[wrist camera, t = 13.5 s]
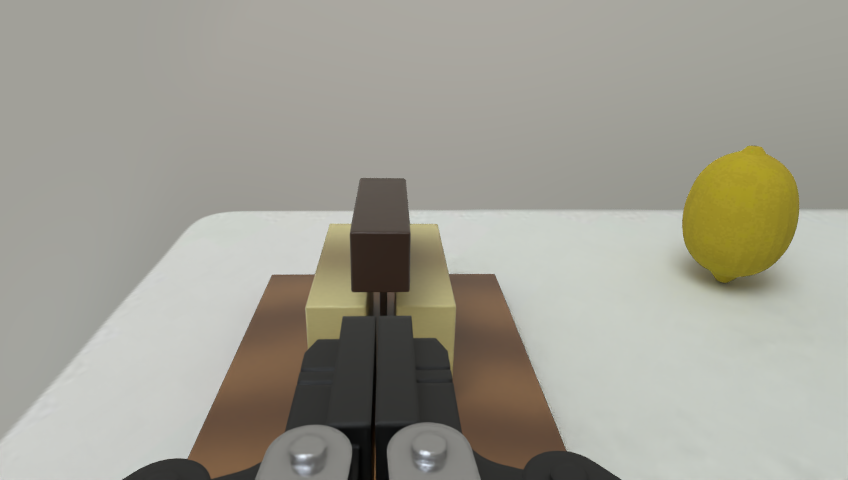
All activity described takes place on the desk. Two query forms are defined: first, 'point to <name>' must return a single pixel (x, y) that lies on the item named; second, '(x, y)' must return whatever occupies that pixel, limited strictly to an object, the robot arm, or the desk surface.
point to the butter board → (431, 318)
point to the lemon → (741, 214)
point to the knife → (380, 238)
